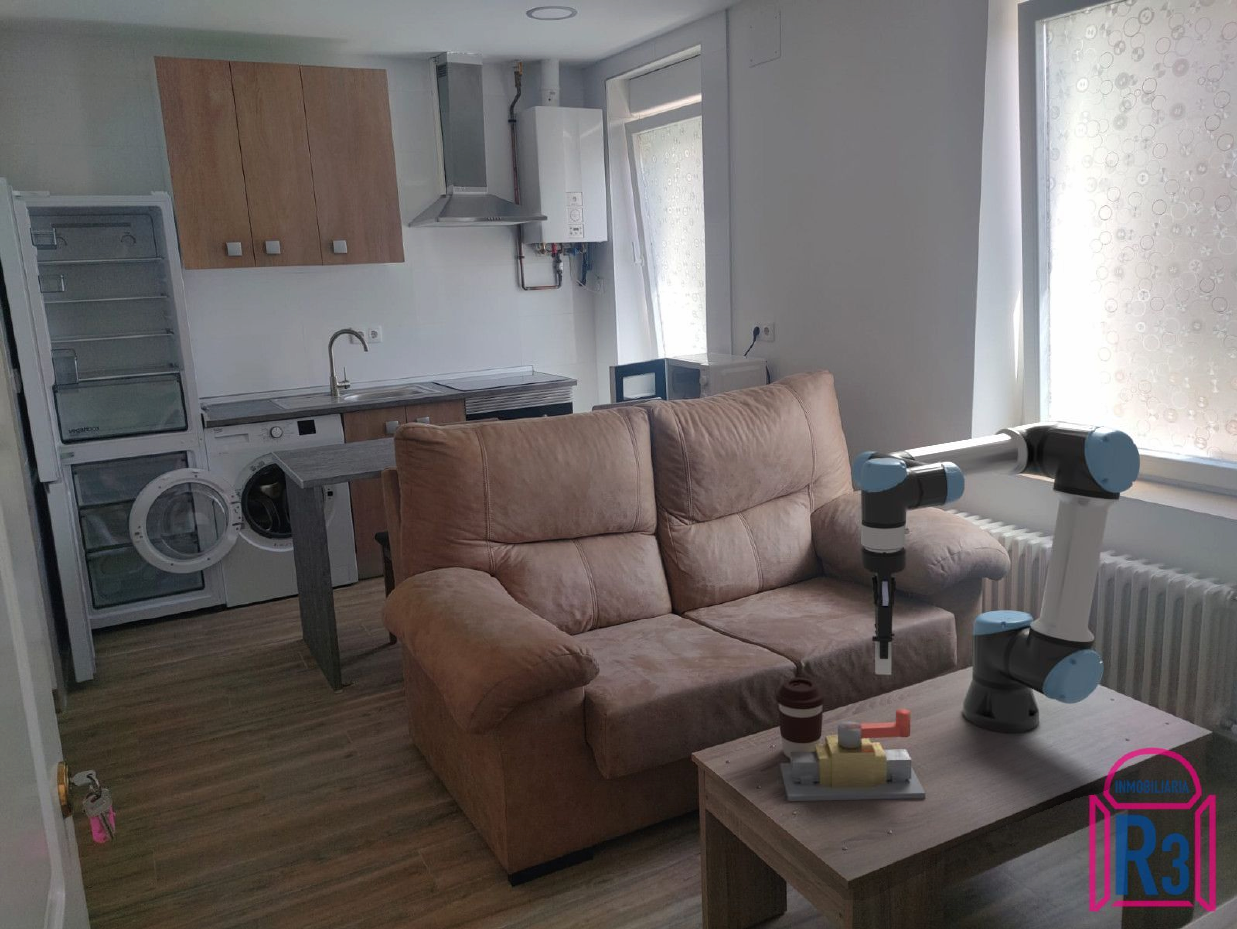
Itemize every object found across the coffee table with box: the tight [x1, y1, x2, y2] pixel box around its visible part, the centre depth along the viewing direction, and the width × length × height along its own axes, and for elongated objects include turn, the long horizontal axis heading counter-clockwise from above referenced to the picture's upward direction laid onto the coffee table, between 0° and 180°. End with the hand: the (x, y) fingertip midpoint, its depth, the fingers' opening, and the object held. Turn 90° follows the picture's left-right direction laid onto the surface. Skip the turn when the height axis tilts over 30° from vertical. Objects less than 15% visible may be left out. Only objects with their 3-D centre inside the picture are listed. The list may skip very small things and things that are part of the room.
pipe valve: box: [789, 734, 912, 788], centre depth 176 cm, size 22×7×7 cm, turn 87°
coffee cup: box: [774, 677, 826, 759], centre depth 187 cm, size 10×10×15 cm
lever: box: [837, 708, 911, 748], centre depth 174 cm, size 14×4×6 cm, turn 89°
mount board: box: [779, 762, 926, 802], centre depth 176 cm, size 25×12×1 cm, turn 87°
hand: (883, 672), depth 167 cm, fingers closed
